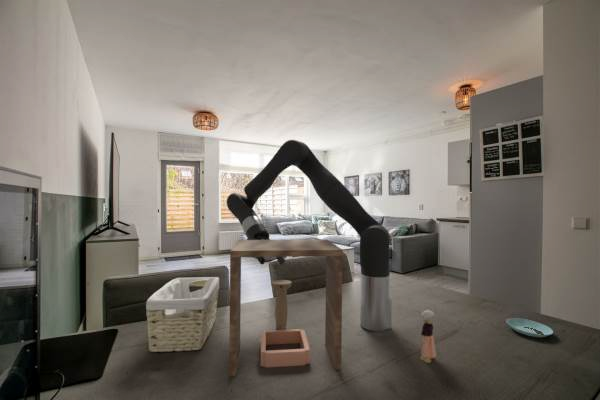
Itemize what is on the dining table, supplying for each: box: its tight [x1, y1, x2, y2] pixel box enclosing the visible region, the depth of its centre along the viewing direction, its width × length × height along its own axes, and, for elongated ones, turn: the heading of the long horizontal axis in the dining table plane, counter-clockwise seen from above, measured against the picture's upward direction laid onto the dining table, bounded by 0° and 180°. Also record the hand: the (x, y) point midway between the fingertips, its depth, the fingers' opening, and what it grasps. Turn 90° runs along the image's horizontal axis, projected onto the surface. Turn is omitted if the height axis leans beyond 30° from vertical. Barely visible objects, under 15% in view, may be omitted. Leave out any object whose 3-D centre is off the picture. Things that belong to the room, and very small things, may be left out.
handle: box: [271, 279, 292, 330], centre depth 93 cm, size 5×6×15 cm
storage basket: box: [145, 276, 220, 353], centre depth 88 cm, size 24×16×15 cm
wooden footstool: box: [228, 239, 343, 377], centre depth 78 cm, size 27×18×30 cm, turn 97°
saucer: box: [505, 317, 554, 338], centre depth 92 cm, size 12×12×2 cm
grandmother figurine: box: [419, 309, 437, 364], centre depth 76 cm, size 8×4×13 cm, turn 148°
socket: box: [260, 328, 311, 368], centre depth 78 cm, size 12×12×4 cm
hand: (273, 263), depth 96 cm, fingers open, 8 cm apart
